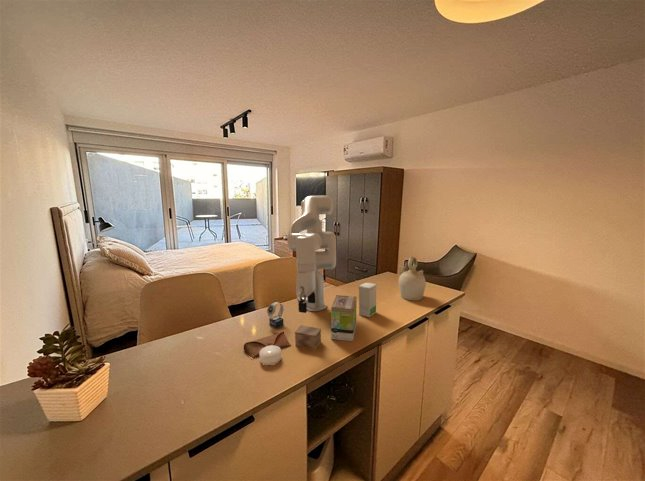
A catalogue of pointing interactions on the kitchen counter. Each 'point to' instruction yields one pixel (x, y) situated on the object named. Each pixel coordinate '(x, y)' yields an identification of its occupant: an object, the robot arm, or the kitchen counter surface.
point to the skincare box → (367, 299)
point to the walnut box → (308, 337)
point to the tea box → (343, 318)
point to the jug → (412, 282)
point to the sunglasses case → (265, 344)
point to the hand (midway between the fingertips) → (307, 307)
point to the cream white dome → (270, 355)
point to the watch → (275, 320)
